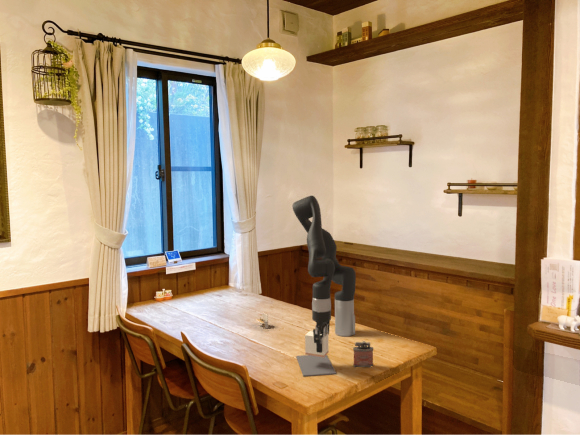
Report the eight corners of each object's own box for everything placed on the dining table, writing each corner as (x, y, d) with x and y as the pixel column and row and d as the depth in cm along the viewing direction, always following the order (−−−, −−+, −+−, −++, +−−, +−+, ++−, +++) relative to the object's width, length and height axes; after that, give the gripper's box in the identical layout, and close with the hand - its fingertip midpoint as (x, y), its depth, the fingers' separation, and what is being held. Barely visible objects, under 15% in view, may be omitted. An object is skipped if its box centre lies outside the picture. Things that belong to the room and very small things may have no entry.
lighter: (372, 363, 181) (372, 340, 180) (374, 367, 178) (374, 343, 177) (352, 364, 181) (352, 340, 180) (354, 368, 177) (354, 343, 177)
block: (323, 337, 175) (323, 357, 176) (328, 333, 180) (328, 352, 181) (305, 335, 178) (305, 354, 179) (310, 330, 183) (310, 349, 184)
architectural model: (262, 330, 225) (262, 316, 224) (256, 326, 231) (255, 312, 230) (268, 329, 227) (268, 314, 226) (262, 325, 233) (261, 311, 232)
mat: (326, 354, 191) (326, 353, 191) (336, 374, 172) (336, 372, 172) (296, 357, 189) (296, 355, 189) (303, 376, 171) (303, 375, 170)
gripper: (318, 302, 185) (318, 342, 187) (306, 312, 172) (306, 354, 173) (335, 304, 182) (336, 344, 184) (324, 314, 169) (325, 357, 170)
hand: (321, 349), depth 179 cm, fingers closed on block, 5 cm apart
